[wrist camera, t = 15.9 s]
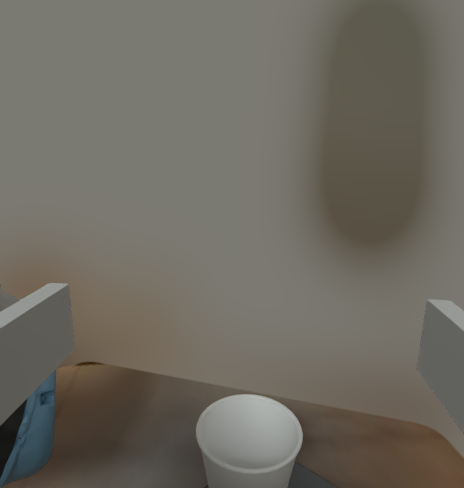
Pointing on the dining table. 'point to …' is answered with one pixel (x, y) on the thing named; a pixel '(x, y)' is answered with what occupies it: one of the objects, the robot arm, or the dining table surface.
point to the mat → (306, 479)
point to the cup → (248, 442)
